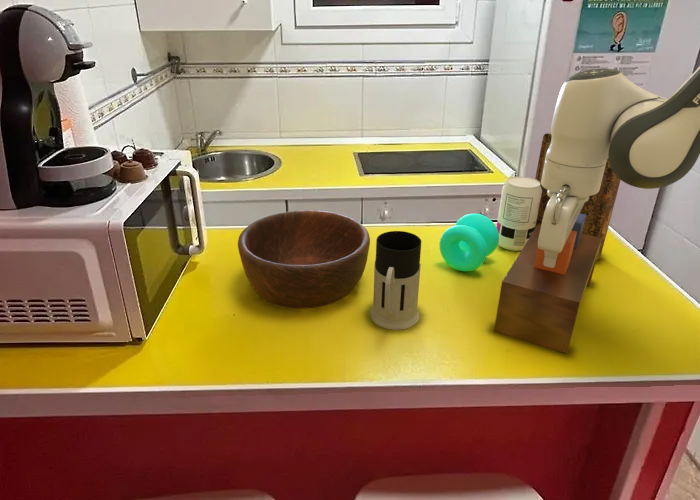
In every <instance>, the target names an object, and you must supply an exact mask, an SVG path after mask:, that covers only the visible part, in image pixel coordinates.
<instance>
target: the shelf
mask: <svg viewBox="0 0 700 500" xmlns="http://www.w3.org/2000/svg"><path fill="white" fill-rule="evenodd" d="M540 229H541V225H539V224H538V225H537V227H536V228H535V230H534V231H533V233H532V235H531V236H530V238H529V239H528V241H527V243H526V244H525V246H524V247H523V249H522V250H521V251H519V254H518V255H517V257H516V258H515V260H514V261H513V263H512V265H511V266H510V268H509V270H508V271H507V273H506V274H505V276H504V277H503V279H502V281H501V284H500V292H499V298H498V304H497V310H496V315H495V321H494V328H493V331H494V332H495V333H499V334H502V335H505V336H508V337H511V338H515V339H517V340H521V341H524V342H528V343H530V344H534V345H538V346H539V347H544V348H547V349H549V350H553V351H556V352H560V353H563V354H566V355H567V354H568V352H569V350H570V349H569V348H570V344H571V341H572V337H573V333H574V329H575V325H576V321H577V317H578V314H579V309H580V306H581V302H582V300H583V297H584V294H585V291H586V288H587V286H590V285H591V282H592V278H593V275H594V271H595V267H596V263H597V262H596V260H597V256H598V252H599V248H600V244H601V240H602V238H600V237H596V236H591V235H586V234H582V235H581V239H580V241H579V243H578V246H577V248H576V249H575V248H573V252H572V256H571V260H570V264H569V266H568V268H567V270H566V273H565V275H563V274H559V273H555V272H551V271H547V270H543V269H539V268H535V267H534V265H535V260H536V255H537V250H538V238H539V234H540Z"/></svg>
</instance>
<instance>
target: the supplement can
mask: <svg viewBox="0 0 700 500" xmlns="http://www.w3.org/2000/svg"><path fill="white" fill-rule="evenodd" d="M541 195H542V189H541V186H540V182H539V181H538V180H536V179H535V178H532V177H528V176H517V175H516V176H511V177H508V178H507V179H506V181H505V182H504V184H503V185H502V188H501V195H500V201H499V208H498V214H497V221H496V227H497V230H498V233H499V243H498V246H499V247H501V248H502V249H505V250H508V251H514V252H521V251H522V249H523V247H524V246H525V244H526V243H527V241H528V239H529V238H530V236H531V235H532V233H533V231H534V230H535V226H536V221H537V216H538V211H539V205H540V200H541Z"/></svg>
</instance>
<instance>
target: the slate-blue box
mask: <svg viewBox="0 0 700 500" xmlns="http://www.w3.org/2000/svg"><path fill="white" fill-rule="evenodd" d="M585 218H586V214H581V213H580V214H579V216H578V218H577V220H576V222H575V224H574V226H573V228H572V231H577V234H576V239H575V243H574V247H573V248H575V249H576V248H577V246H578V243H579V241H580V239H581V235H582V231H583V226H584V222H585Z"/></svg>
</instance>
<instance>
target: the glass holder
mask: <svg viewBox="0 0 700 500" xmlns="http://www.w3.org/2000/svg"><path fill="white" fill-rule="evenodd" d="M421 253H422V239H421V238H420V237H419V236H418V235H417V234H415V233H412V232H408V231H403V230H390V231H385V232H383V233H380V234H379V235H378V236H377V237H376V241H375V260H374V268H373V270H374V271H373V296H372V297H373V299H372V301H373V303H372V308H371V310H370V314H369V315H370V318H371V320H372V321H373V323H374V324H375V325H378V326H379V327H381V328H384V329H388V330H394V331H395V330H396V331H397V330H399V331H400V330H406V329H409V328H412V327H413V326H415V325H416V324H417V323H418V322H419V319H420V313H419V310H418V303H419V291H420V278H421V277H420V276H421V265H422V264H421Z"/></svg>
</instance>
